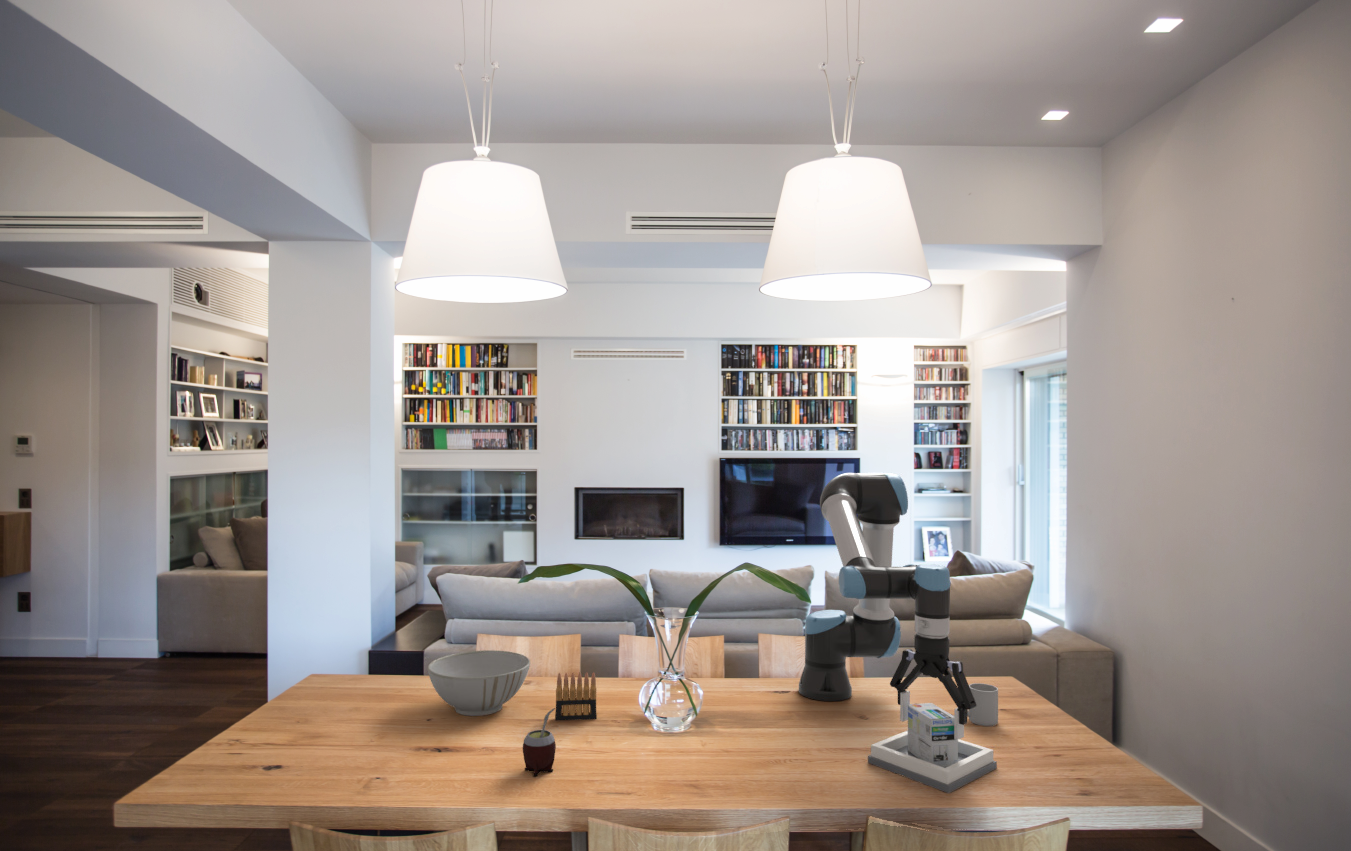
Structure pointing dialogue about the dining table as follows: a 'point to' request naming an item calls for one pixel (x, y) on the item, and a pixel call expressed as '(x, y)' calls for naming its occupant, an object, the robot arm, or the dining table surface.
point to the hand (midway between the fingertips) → (931, 728)
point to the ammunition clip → (576, 698)
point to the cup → (984, 704)
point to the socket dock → (947, 779)
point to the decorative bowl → (478, 679)
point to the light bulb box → (932, 734)
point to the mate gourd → (539, 750)
